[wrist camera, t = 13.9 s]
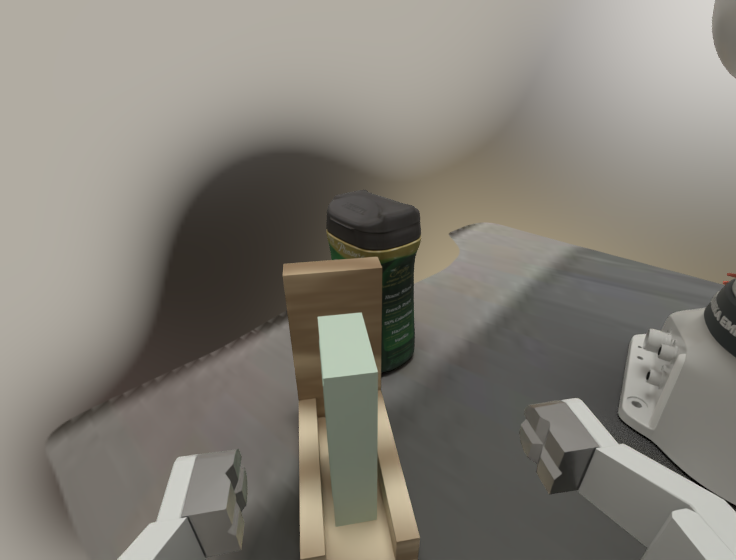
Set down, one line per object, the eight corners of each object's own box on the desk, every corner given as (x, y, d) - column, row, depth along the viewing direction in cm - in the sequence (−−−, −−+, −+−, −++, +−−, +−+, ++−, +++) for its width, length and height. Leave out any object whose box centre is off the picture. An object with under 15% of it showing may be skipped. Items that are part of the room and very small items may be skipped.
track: (301, 409, 38) (283, 263, 30) (376, 400, 39) (377, 256, 31) (304, 586, 25) (274, 409, 17) (417, 564, 26) (434, 389, 18)
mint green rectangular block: (328, 454, 33) (316, 316, 26) (364, 448, 33) (362, 312, 26) (334, 526, 28) (322, 378, 21) (377, 519, 28) (378, 371, 21)
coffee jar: (425, 355, 45) (438, 200, 36) (372, 386, 41) (372, 218, 32) (373, 318, 52) (373, 180, 43) (323, 341, 48) (311, 193, 39)
